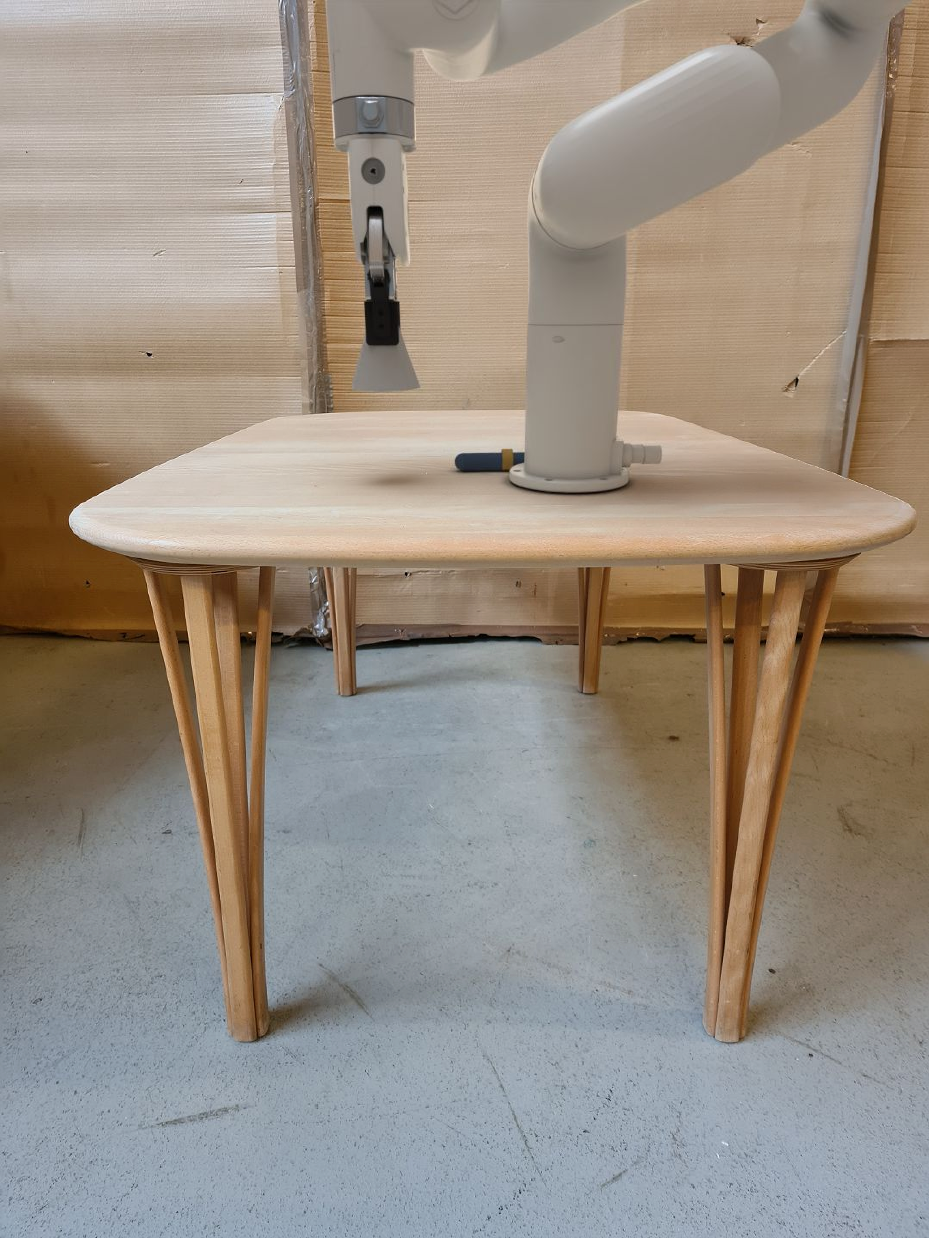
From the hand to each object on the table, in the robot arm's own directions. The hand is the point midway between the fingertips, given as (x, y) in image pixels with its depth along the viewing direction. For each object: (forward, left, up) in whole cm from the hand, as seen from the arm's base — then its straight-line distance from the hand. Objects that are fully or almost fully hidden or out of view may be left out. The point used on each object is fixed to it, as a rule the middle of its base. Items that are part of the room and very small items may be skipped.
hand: (384, 342), depth 76 cm
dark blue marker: (-13, -6, -14) cm, 20 cm away
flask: (0, 0, -5) cm, 5 cm away
